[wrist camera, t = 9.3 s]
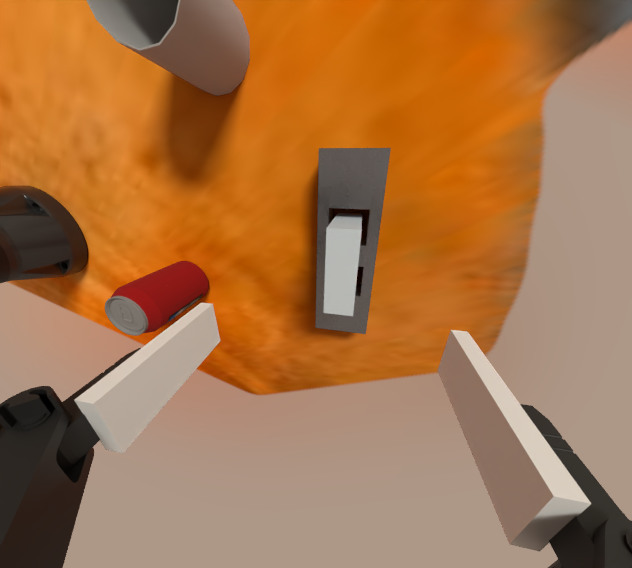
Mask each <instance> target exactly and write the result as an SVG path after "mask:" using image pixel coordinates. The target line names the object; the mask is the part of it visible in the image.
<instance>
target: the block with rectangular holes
mask: <svg viewBox="0 0 632 568" xmlns="http://www.w3.org/2000/svg"><path fill="white" fill-rule="evenodd" d="M389 155H390V148H321V149H319V173H318V227H317V280H316V328H322V329H330V330H338V331H345V332H353V333H361V334H366V327H367V320H368V312H369V305H370V297H371V290H372V282H373V275H374V267H375V260H376V253H377V245H378V238H379V230H380V223H381V215H382V208H383V200H384V193H385V185H386V178H387V170H388V163H389ZM333 208H342V209H369V213H368V222H367V231H366V238H361V242H360V252H359V262H358V267H363V268H362V277H361V284H358V283H356V291H355V301H354V311H353V316H346V315H338V314H329V313H324V285H325V257H326V228H327V227H328V225H329V224H330V223H331V222H332V219H333Z"/></svg>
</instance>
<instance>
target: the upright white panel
mask: <svg viewBox="0 0 632 568" xmlns="http://www.w3.org/2000/svg"><path fill="white" fill-rule="evenodd" d="M361 232H362V214H351V213H338V214H337V215H336V217H335V218H334V219H333V220H332V222H331V223H330V224H329V225H328V227H327V228H326V257H325V285H324V313H329V314H338V315H346V316H353V311H354V301H355V291H356V282H357V272H358V262H359V252H360V242H361Z"/></svg>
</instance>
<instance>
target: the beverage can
mask: <svg viewBox="0 0 632 568" xmlns="http://www.w3.org/2000/svg"><path fill="white" fill-rule="evenodd" d="M208 287H209V285H208V280H207V277H206V275H205V273H204V272H203V271H202V270H201V269H200V268H199V267H198V266H197V265H195V264H193V263H191V262H188V261H180V262H177V263H175V264H172V265H170V266H167V267H165V268H163V269H160V270H158V271H156V272H153V273H151V274H149V275H146V276H144V277H142V278H140V279H137V280H135V281H133V282H130V283H128V284H126V285H124V286H122V287H119V288H118V289H117V290H116V291H115V292H114V294H113V295H112V297H111V298H110V299H108V300H107V301H106V303H105V311H106V314H107V316H108V318H109V320H110V321H111V322H112V323H113V325H115V326H116V327H117V328H118V329H119V330H121V331H122V332H124V333H127V334H129V335H140V334H142V333H148V332H153V331H156V330H157V329H159V328H160V327H162V326H163V325H165V324H166V323H167V322H169V321H170V320H172V319H173V318H174V317H176V316H177V315H179V314H180V313H181V312H183V311H184V310H186V309H187V308H188V307H190V306H191V305H192V304H194V303H195V302H197V301H198V300H199V299H201V298H202V297H203V296H205V295H206V293H207V291H208Z"/></svg>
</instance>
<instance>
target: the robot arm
mask: <svg viewBox="0 0 632 568" xmlns="http://www.w3.org/2000/svg"><path fill="white" fill-rule="evenodd" d="M86 262H87V246H86V242H85V239H84V237H83V234H82V232H81V230H80V228H79V226H78V225H77V223H76V222H75V220H74V219H73V217H72V216H71V215H70V214H69V212H68V211H67V210H66V209H65V208H64V207H63V206H62V205H61V204H60V203H59V202H58V201H57V200H55V199H54V198H53V197H51V196H50V195H49V194H47V193H45V192H44V191H42V190H39V189H37V188H34V187H30V186H4V187H0V283H3V282H7V281H11V280H25V279H41V278H56V277H63V276H67V275H70V274H73V273H76V272H79V271H80V270H82V269H83V268H84V266H85V264H86ZM219 342H220V337H219V332H218V327H217V322H216V317H215V312H214V308H213V304H210V303H200V304H198V305H197V306H196V307H195V308H193V309H192V310H191V311H189V312H188V313H187V314H185V315H184V316H183V317H181V318H180V319H179V320H178V321H176V322H175V323H174V324H172V325H171V326H170V327H168V328H167V329H166V330H165V331H163V332H162V333H161V334H159V335H158V336H157V337H155V338H154V339H153V340H152V341H150V342H149V343H148V344H146V345H145V346H144V347H142V348H139V349H137V350H135V351H133V352H131V353H129V354H127V355H125V356H124V357H123V358H121V359H120V360H119V361H118V362H116V363H115V364H114V365H112V366H111V367H109V368H108V369H107V370H105V372H104V373H101V374H100V375H99V376H97V377H96V378H94V379H93V380H92V381H90V382H89V383H88V384H86V385H85V386H84V387H82V388H81V389H80V390H79V391H77V392H76V393H74V394H73V395H72V396H70V397H69V398H68V399H66V400H65V401H63V402H61V400H60V399H59V397H58V396H57V395H56V393H55V392H54V390H53V389H52V388H51V387H49V386H41V387H35V388H31V389H29V390H26V391H23V392H21V393H19V394H17V395H15V396H13V397H11V398H9V399H7V400H6V401H4V402H3V403H1V404H0V568H62V567H63V564H64V560H65V557H66V553H67V550H68V546H69V542H70V539H71V535H72V532H73V528H74V525H75V521H76V517H77V514H78V510H79V507H80V503H81V500H82V496H83V492H84V489H85V485H86V482H87V478H88V474H89V471H90V467H91V464H92V460H93V456H94V449H93V446H94V445H95V444H96V443H97V442H98V441H99V440H100V441H101V443H102V444H103V446H104V447H105V449H106V450H110V451H115V452H119V453H124V452H125V450H126V449H127V448H128V447H129V446H130V444H131V443H132V442H133V441H134V440H135V439H136V438H137V437H138V435H139V434H140V433H141V432H142V431H143V430H144V428H145V427H146V426H147V425H148V424H149V423H150V422H151V420H152V419H153V418H154V417H155V416H156V415H157V413H158V412H159V411H160V410H161V409H162V408H163V407H164V405H165V404H166V403H167V402H168V401H169V399H170V398H171V397H172V396H173V395H174V394H175V393H176V392H177V390H178V389H179V388H180V387H181V386H182V385H183V384H184V382H185V381H186V380H187V379H188V378H189V377H190V375H191V374H192V373H193V372H194V371H195V370H196V369H197V367H198V366H199V365H200V364H201V363H202V362H203V360H204V359H205V358H206V357H207V356H208V355H209V354H210V352H211V351H212V350H213V349H214V348H215V347H216V345H217V344H218V343H219ZM438 373H439V375H440V377H441V380H442V382H443V385H444V387H445V389H446V392H447V394H448V397H449V399H450V402H451V404H452V406H453V409H454V411H455V414H456V416H457V418H458V421H459V423H460V425H461V428H462V430H463V433H464V435H465V438H466V440H467V442H468V445H469V447H470V450H471V452H472V455H473V457H474V459H475V462H476V464H477V467H478V469H479V471H480V474H481V476H482V479H483V481H484V484H485V486H486V488H487V491H488V493H489V495H490V498H491V500H492V503H493V505H494V508H495V510H496V513H497V515H498V517H499V520H500V522H501V525H502V527H503V529H504V532H505V534H506V537H507V539H508V541H509V544H511V545H515V546H519V547H523V548H528V549H532V550H537V551H540V550H542V549H543V548H544V547H545V546H546V545H547V544H548V543H549V542H550V544H551V546H552V548H553V550H554V552H555V553H556V555H557V557H558V560H557V561H556V562H554V563H553V564H552V565H551V566H549V567H548V568H632V521H630V520H629V519H628V518H627V517H626V516H625V515H624V514H623V513H622V511H621V510H620V509H619V508H618V507H617V505H616V504H615V503H614V501H613V500H612V499H611V498H610V496H609V495H608V494H607V493H606V491H605V490H604V489H603V488H602V486H601V485H600V484H599V482H598V481H597V480H596V479H595V478H594V476H593V475H592V474H591V473H590V471H589V470H588V469H587V467H586V466H585V465H584V464H583V462H582V461H581V460H580V459H579V457H578V456H577V455H576V454H574V453H573V450H572V449H571V447H570V446H569V445H568V443H567V442H566V441H565V440H563V439H562V436H561V435H560V433H559V432H558V431H557V430H556V428H555V427H554V426H553V425H552V423H551V422H550V421H549V420H548V419H547V418H546V417H545V416H543V415H542V414H541V413H540V412H539V411H537V410H536V409H535V408H534V407H533V406H529V405H522V404H519V402H518V401H517V400H516V398H515V397H514V395H513V394H512V393H511V391H510V390H509V389H508V387H507V386H506V384H505V383H504V382H503V380H502V379H501V377H500V376H499V375H498V373H497V372H496V370H495V369H494V368H493V366H492V365H491V364H490V362H489V361H488V359H487V358H486V357H485V355H484V354H483V352H482V351H481V350H480V348H479V347H478V345H477V344H476V343H475V341H474V340H473V339H472V337H471V336H470V334H469V333H468V332H466V331H457V330H451V331H450V334H449V338H448V341H447V344H446V347H445V350H444V353H443V356H442V359H441V362H440V365H439V368H438Z"/></svg>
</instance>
